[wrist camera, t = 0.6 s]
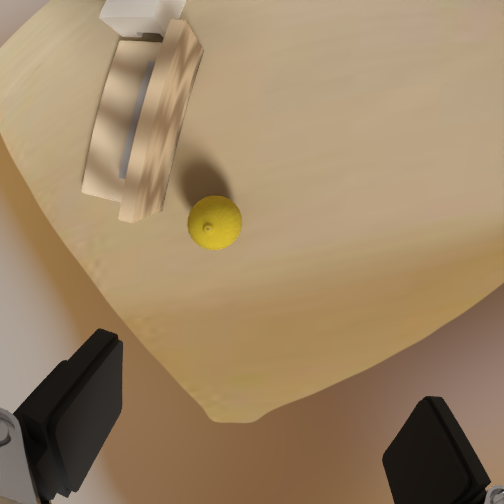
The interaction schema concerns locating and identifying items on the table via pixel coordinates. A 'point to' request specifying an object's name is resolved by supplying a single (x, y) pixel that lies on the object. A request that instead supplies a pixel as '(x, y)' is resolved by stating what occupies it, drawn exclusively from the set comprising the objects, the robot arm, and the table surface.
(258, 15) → the table surface
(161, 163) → the cleat board
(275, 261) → the table surface
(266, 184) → the table surface
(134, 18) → the white stepped block
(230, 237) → the lemon
